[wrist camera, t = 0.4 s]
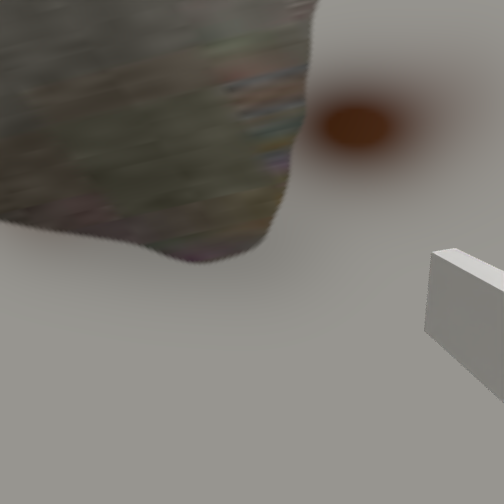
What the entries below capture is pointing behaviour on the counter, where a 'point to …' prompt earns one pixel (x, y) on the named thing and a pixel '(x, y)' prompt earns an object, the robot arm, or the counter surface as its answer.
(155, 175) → the counter surface
